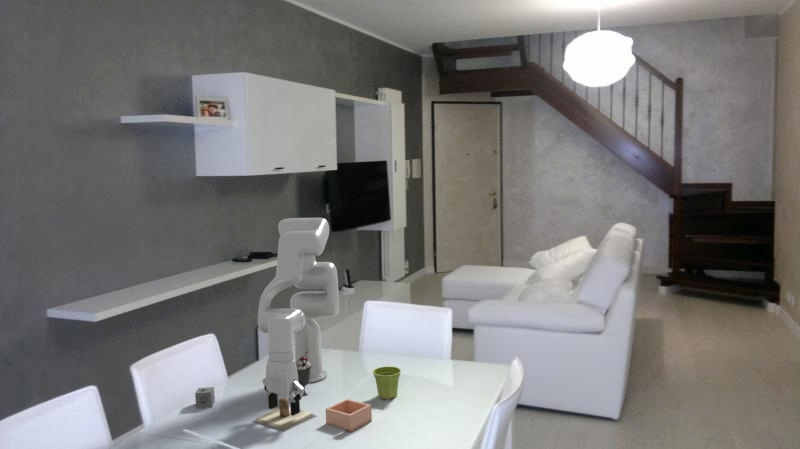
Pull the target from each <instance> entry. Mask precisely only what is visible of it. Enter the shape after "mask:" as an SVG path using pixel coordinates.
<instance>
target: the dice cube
mask: <svg viewBox="0 0 800 449" xmlns="http://www.w3.org/2000/svg"><path fill="white" fill-rule="evenodd" d="M194 397H195V408H196V409H203V408H212V407H213V406H214V405H215V402H216V400H215V398H216V396H215V386H211V387H210V386H209V387H198V388H197V390H196V391H195V396H194Z"/></svg>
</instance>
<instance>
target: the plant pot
mask: <svg viewBox="0 0 800 449" xmlns="http://www.w3.org/2000/svg"><path fill="white" fill-rule="evenodd" d="M401 373H402V369H401V368H399V367H396V366H389V365H388V366H379V367H377V368H375V369H373V370H372V374H373V376H374V380H375V383H376V389H377V390H376V391H377V395H378V397H379V398H380V399H382V400H391V399H392V398H393V399H394V398H396V397H397V396H398V388H399V380H400V379H399V378H400V376H401Z"/></svg>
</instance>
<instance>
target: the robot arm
mask: <svg viewBox="0 0 800 449" xmlns="http://www.w3.org/2000/svg"><path fill="white" fill-rule="evenodd" d="M277 228H278V229H277V231H278V233H279V235H280V236H279V237H278V238H279V240H278V245H277V246H278V248H277V258H276V273H275V277H274V278H272V280H271V281H270V282H269V283H268V285H267V286H266V287H264V288H265V289H264V290H263V292H262V293H261V295H260V298H259V302H258V303H259V304H258V310H257V311H258V313H257V325H258V329H259V330H260V331H261V333H265V334H267V341H268V342H267V343H268V350H267V352H268V359H267V361H266V368H265V378H264V379H262V384H263V387H264V390H265V393H266V397H267V398H268V399H267V401H268V410H273V409H274V408H277V407H279V406H278V405H279V399H278V395H279V396H284V397H289V400H290V401H291V402H289V407H290V408H291V415H292V416H293V415H296V414H298V413H300V410H301V407H300V406H301V404H300V401H301V400H302V398H303V397H304V396H303V394H304V391H305V392H306V388H305V389H304V388H303V387H302V386H301V385H300V384H299V381H298V372H297V366H296V362H297V360H298V359H300V358H301V357H304V359H305V358H306V357H307V359H308V362H309V363H310V365H311V366H312V367H311V369H310V377H309V383H316V382H317V383H318V382H320V381H323V380H325V379H326V378H327V376H328V373H327V371H326V370H324V369H323V356H322V355H323V354H322V332H321V331H322V330H321V327H320V325H319V324H318V323H317V321H316V320H315V319H325V318H326V319H328V318H335V317H337V316H338V315H339V312H340V294H339V293H340V292H339V279H338V278H339V277H338V270H337V267H336V265H335V264H334V263H333V262H332V261H317V260H316V257H319V256H321V255H322V254H323V252H324V251H325V248H326V245H327V242H328V239H329V236H330V224H329V222H328V220H327V219H326V218H324V217H290V218H283V219H281V220H280V221H279V222H278V226H277ZM292 286H294V287H295V288H297V289H302V290H304V289H305V290H308V291H300V292H296V293H294V294H292V296H291V297H290V301H289V304H290V305H289V308H270V306H271V303H272V301H273V299H274V297H275V296H277V295H278V294H279V293H280V292H283V291H284V290H286V289H287V288H290V287H292ZM317 289H318V290H319V291H317ZM321 289H322V291H320V290H321ZM309 290H310V291H309ZM311 290H312V291H311ZM313 290H314V291H313ZM306 352H307V354H306ZM309 383H308V384H309Z"/></svg>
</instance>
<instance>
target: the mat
mask: <svg viewBox="0 0 800 449" xmlns="http://www.w3.org/2000/svg"><path fill="white" fill-rule="evenodd" d="M316 417H318V415H316V414H313V416H312V417H310V418H308V419H306V420H304V421H302V422H300V423H297V424H295V425H293V426H291V427H289V428H287V429H285V430H283V429H280V428H277V427H273V426H270V425H267V424H264V423H261V422H258V421H256V419H253V420H252V421H251V422H252V423H255V424H258V425H260V426H264V427H267V428H270V429H272V430H276V431H280V432H283V433H284V432H287V431H288V430H291V429H293V428H295V427H297V426H299V425H302V424H303V423H305V422H308V421H310V420H312V419H314V418H316Z"/></svg>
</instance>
